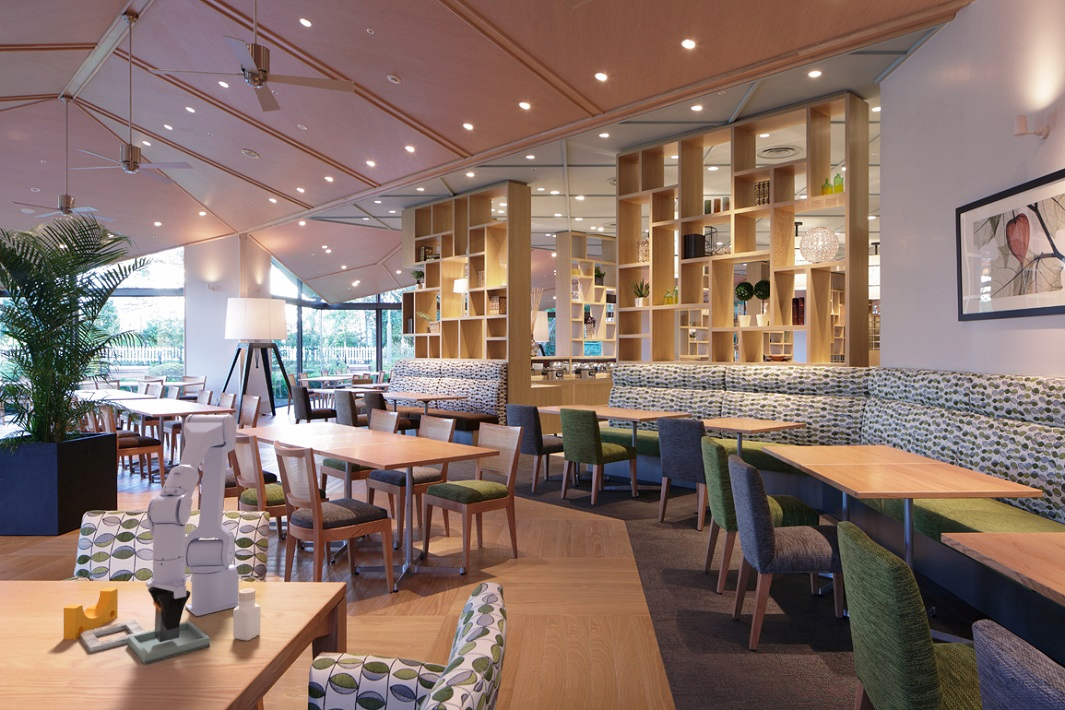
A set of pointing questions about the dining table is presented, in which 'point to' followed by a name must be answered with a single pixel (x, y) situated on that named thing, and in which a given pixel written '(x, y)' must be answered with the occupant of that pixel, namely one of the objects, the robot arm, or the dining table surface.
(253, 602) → the pepper shaker
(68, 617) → the pipe clamp
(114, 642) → the socket
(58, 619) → the dining table surface
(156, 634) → the pin
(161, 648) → the tray
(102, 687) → the dining table surface
